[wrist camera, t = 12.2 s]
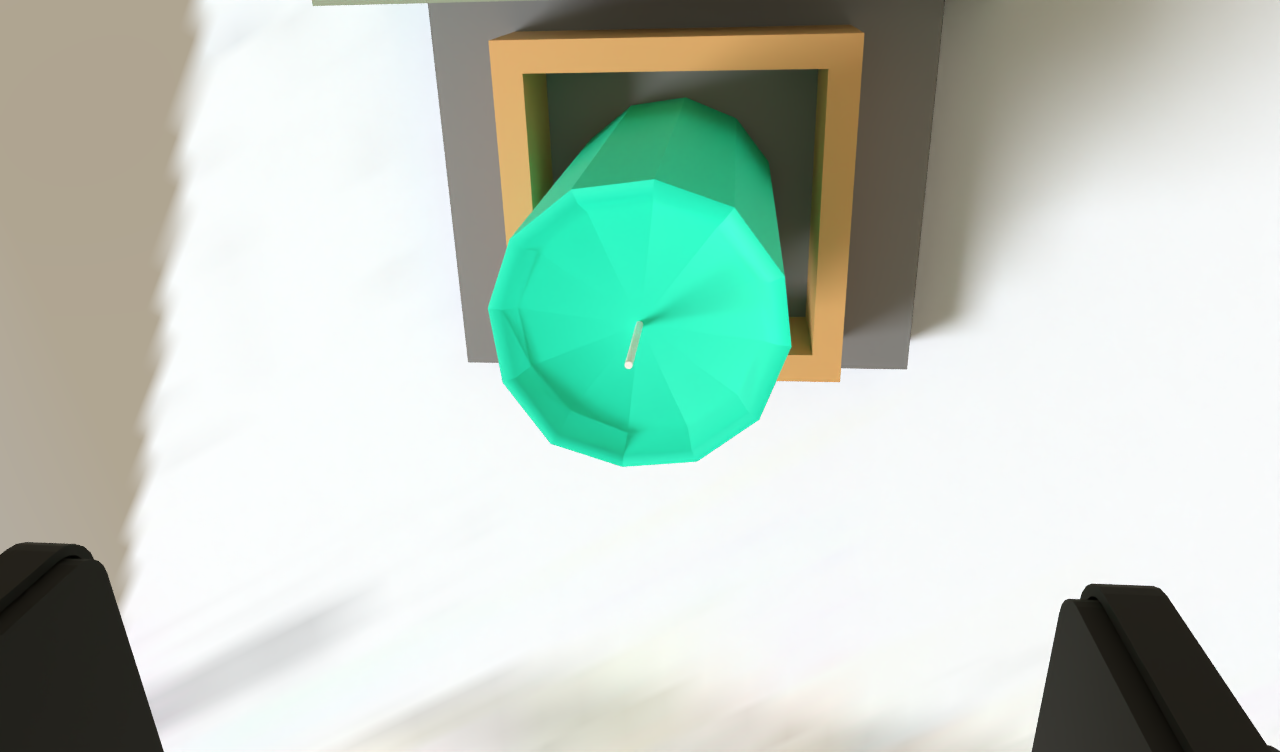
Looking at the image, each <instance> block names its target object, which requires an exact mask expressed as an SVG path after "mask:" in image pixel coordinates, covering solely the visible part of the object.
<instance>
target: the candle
mask: <svg viewBox="0 0 1280 752" xmlns="http://www.w3.org/2000/svg"><path fill="white" fill-rule="evenodd" d="M488 312H489V317H490V322H491V327H492V332H493V337H494V342H495V346H496V351H497V356H498V361H499V366H500V371H501V376H502V381H503V383H504V385H505V386H506V387H507V389H508V390H509V391H510V392H511V394H512V395H513V396H514V397H515V399H516V400H517V401H518V403H519V404H520V405H521V406H522V408H523V409H524V410H525V412H526V413H527V414H528V415H529V417H530V418H531V419H532V420H533V422H534V423H535V424H536V426H537V427H538V428H539V429H540V431H541V432H542V433H543V435H544V436H545V437H546V438H547V440H548V441H549V442H550V443H551V444H553V445H557V446H560V447H563V448H566V449H569V450H572V451H575V452H578V453H581V454H584V455H588V456H591V457H594V458H597V459H600V460H603V461H606V462H609V463H612V464H615V465H619V466H622V467H626V466H640V465H654V464H669V463H683V462H697V461H698V460H700V459H701V458H703V457H704V456H706V455H707V454H709V453H710V452H712V451H713V450H715V449H716V448H718V447H719V446H721V445H722V444H724V443H725V442H727V441H728V440H730V439H731V438H733V437H734V436H736V435H737V434H738V433H740V432H741V431H743V430H744V429H746V428H747V427H749V426H750V425H752V424H753V423H755V422H756V421H758V420H759V419H760V416H761V414H762V412H763V410H764V407H765V405H766V403H767V401H768V398H769V396H770V394H771V392H772V389H773V387H774V385H775V383H776V380H777V378H778V376H779V374H780V371H781V369H782V367H783V365H784V362H785V360H786V358H787V356H788V353H789V351H790V349H791V347H792V346H791V336H790V326H789V315H788V305H787V294H786V284H785V274H784V267H783V260H782V253H781V246H780V239H779V232H778V224H777V217H776V210H775V203H774V196H773V189H772V182H771V175H770V168H769V162H768V160H767V159H766V158H765V156H764V155H763V154H762V152H761V151H760V150H759V148H758V147H757V145H756V144H755V143H754V141H753V140H752V139H751V137H750V136H749V135H748V133H747V132H746V131H745V129H744V128H743V127H742V125H741V124H740V123H739V121H738V120H737V119H736V118H734V117H732V116H730V115H727V114H725V113H722V112H720V111H717V110H715V109H713V108H710V107H708V106H705V105H703V104H701V103H698V102H696V101H693V100H691V99H688V98H686V97H684V98H678V99H671V100H664V101H658V102H651V103H644V104H638V105H631V106H630V107H629V108H628V109H627V110H625V111H624V112H623V113H622V114H621V115H619V116H618V117H617V118H616V119H615V120H613V121H612V122H611V123H610V124H608V125H607V126H606V127H605V128H604V129H602V130H601V131H600V132H599V133H598V134H596V135H595V136H594V137H593V138H592V139H590V141H589V142H588V143H587V144H586V145H585V147H584V148H583V149H582V150H581V152H580V153H579V154H578V155H577V157H576V158H575V159H574V160H573V162H572V163H571V164H570V165H569V166H568V168H567V169H566V170H565V171H564V173H563V174H562V175H561V176H560V178H559V179H558V180H557V181H556V182H555V184H554V185H553V186H552V187H551V189H550V190H549V191H548V192H547V194H546V195H545V196H544V197H543V199H542V200H541V201H540V202H539V203H538V205H537V206H536V207H535V208H534V210H533V211H532V212H531V213H530V215H529V216H528V217H527V218H526V219H525V221H524V222H523V223H522V224H521V226H520V227H519V228H518V229H517V231H516V232H515V233H514V234H513V236H512V237H511V238H510V239H509V243H508V246H507V249H506V252H505V255H504V258H503V261H502V265H501V268H500V271H499V274H498V277H497V280H496V283H495V287H494V290H493V293H492V296H491V299H490V302H489V306H488Z"/></svg>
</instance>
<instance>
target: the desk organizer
mask: <svg viewBox="0 0 1280 752" xmlns="http://www.w3.org/2000/svg"><path fill="white" fill-rule="evenodd" d="M312 3H313V6H325V5H366V4H408V3H428V8H429V17H430V26H431V35H432V44H433V53H434V62H435V71H436V79H437V88H438V97H439V106H440V115H441V124H442V133H443V142H444V151H445V160H446V169H447V177H448V186H449V195H450V204H451V213H452V222H453V231H454V240H455V249H456V258H457V267H458V275H459V284H460V293H461V302H462V311H463V320H464V329H465V338H466V347H467V356H468V362H486V363H499V361H498V356H497V351H496V346H495V342H494V337H493V332H492V327H491V322H490V317H489V312H488V306H489V302H490V299H491V296H492V293H493V290H494V287H495V283H496V280H497V277H498V274H499V271H500V268H501V265H502V261H503V258H504V255H505V252H506V249H507V246H508V243H509V239H510V238H511V237H512V236H513V234H514V233H515V232H516V231H517V229H518V228H519V227H520V226H521V224H522V223H523V222H524V221H525V219H526V218H527V217H528V216H529V215H530V213H531V212H532V211H533V210H534V208H535V207H536V206H537V205H538V203H539V202H540V201H541V200H542V199H543V197H544V196H545V195H546V194H547V192H548V191H549V190H550V189H551V187H552V186H553V185H554V184H555V182H556V181H557V180H558V179H559V178H560V176H561V175H562V174H563V173H564V171H565V170H566V169H567V168H568V166H569V165H570V164H571V163H572V162H573V160H574V159H575V158H576V157H577V155H578V154H579V153H580V152H581V150H582V149H583V148H584V147H585V145H586V144H587V143H588V142H589V141H590V139H592V138H593V137H594V136H595V135H596V134H598V133H599V132H600V131H601V130H602V129H604V128H605V127H606V126H607V125H608V124H610V123H611V122H612V121H613V120H615V119H616V118H617V117H618V116H619V115H621V114H622V113H623V112H624V111H625V110H627V109H628V108H629V107H630V106H631V105H638V104H644V103H651V102H658V101H664V100H671V99H678V98H684V97H686V98H688V99H691V100H693V101H696V102H698V103H701V104H703V105H705V106H708V107H710V108H713V109H715V110H717V111H720V112H722V113H725V114H727V115H730V116H732V117H734V118H736V119H737V120H738V121H739V123H740V124H741V125H742V127H743V128H744V129H745V131H746V132H747V133H748V135H749V136H750V137H751V139H752V140H753V141H754V143H755V144H756V145H757V147H758V148H759V150H760V151H761V152H762V154H763V155H764V156H765V158H766V159H767V160H768V162H769V168H770V175H771V182H772V189H773V196H774V203H775V210H776V217H777V224H778V232H779V239H780V246H781V253H782V260H783V267H784V274H785V284H786V294H787V305H788V315H789V326H790V336H791V346H792V347H791V349H790V351H789V353H788V356H787V358H786V360H785V362H784V365H783V367H782V369H781V371H780V374H779V376H778V378H777V380H776V381H810V382H840V374H841V368H861V369H907V363H908V354H909V344H910V334H911V325H912V315H913V305H914V295H915V286H916V276H917V266H918V256H919V247H920V237H921V227H922V217H923V208H924V198H925V188H926V179H927V169H928V159H929V149H930V140H931V130H932V120H933V110H934V101H935V91H936V81H937V72H938V62H939V52H940V42H941V33H942V23H943V13H944V3H945V0H312Z"/></svg>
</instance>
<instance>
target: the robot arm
mask: <svg viewBox="0 0 1280 752" xmlns="http://www.w3.org/2000/svg"><path fill="white" fill-rule="evenodd" d="M0 752H164V751H163V748H162V745H161V741H160V738H159V735H158V732H157V729H156V726H155V723H154V719H153V716H152V713H151V710H150V707H149V704H148V700H147V697H146V694H145V691H144V688H143V685H142V682H141V678H140V675H139V672H138V669H137V666H136V663H135V659H134V656H133V653H132V650H131V647H130V644H129V641H128V637H127V634H126V631H125V628H124V625H123V622H122V618H121V615H120V612H119V609H118V606H117V603H116V600H115V596H114V593H113V590H112V587H111V584H110V581H109V578H108V574H107V572H106V570H105V568H104V566H103V565H102V564H101V563H100V562H99V561H96V560H94V559H93V557H92V555H91V553H90V552H89V551H88V550H87V549H86V548H85V547H83V546H80V545H76V544H57V543H33V542H25V543H19V544H16V545H14V546H12V547H10V548H9V549H7V550H6V551H4V552H3V553H2V554H1V555H0ZM1032 752H1280V751H1279V750H1277V749H1276V748H1274V747H1272V746H1269V745H1267V744H1266V743H1265V741H1264V740H1263V738H1262V737H1261V735H1260V734H1259V732H1258V731H1257V729H1256V728H1255V726H1254V725H1253V724H1252V722H1251V721H1250V719H1249V718H1248V716H1247V715H1246V713H1245V712H1244V710H1243V709H1242V707H1241V706H1240V704H1239V703H1238V701H1237V700H1236V698H1235V697H1234V695H1233V694H1232V692H1231V691H1230V689H1229V688H1228V686H1227V685H1226V683H1225V682H1224V680H1223V679H1222V677H1221V676H1220V674H1219V673H1218V671H1217V670H1216V668H1215V667H1214V665H1213V664H1212V662H1211V661H1210V659H1209V658H1208V656H1207V655H1206V653H1205V652H1204V650H1203V649H1202V647H1201V646H1200V644H1199V643H1198V641H1197V640H1196V639H1195V637H1194V636H1193V634H1192V633H1191V631H1190V630H1189V628H1188V627H1187V625H1186V624H1185V622H1184V621H1183V619H1182V618H1181V616H1180V615H1179V613H1178V612H1177V610H1176V609H1175V607H1174V606H1173V604H1172V603H1171V601H1170V600H1169V598H1168V597H1167V596H1166V594H1165V593H1164V592H1163V591H1162V590H1161V589H1160V588H1157V587H1155V586H1137V585H1112V584H1090V585H1087V586H1086V587H1085V589H1084V590H1083V592H1082V594H1081V598H1080V599H1067V600H1065V601H1064V602H1063V604H1062V606H1061V609H1060V612H1059V617H1058V622H1057V627H1056V632H1055V637H1054V642H1053V647H1052V652H1051V658H1050V663H1049V668H1048V673H1047V678H1046V683H1045V688H1044V693H1043V698H1042V703H1041V708H1040V713H1039V718H1038V723H1037V728H1036V733H1035V738H1034V743H1033V748H1032Z"/></svg>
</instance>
